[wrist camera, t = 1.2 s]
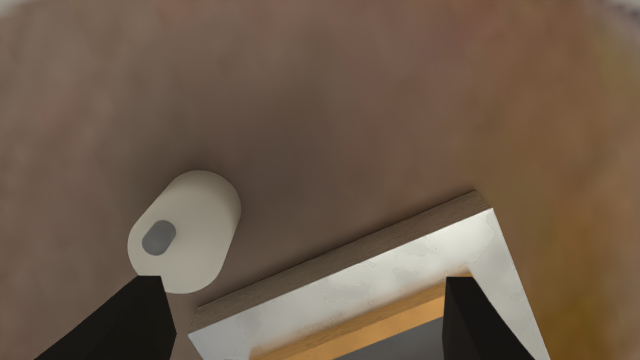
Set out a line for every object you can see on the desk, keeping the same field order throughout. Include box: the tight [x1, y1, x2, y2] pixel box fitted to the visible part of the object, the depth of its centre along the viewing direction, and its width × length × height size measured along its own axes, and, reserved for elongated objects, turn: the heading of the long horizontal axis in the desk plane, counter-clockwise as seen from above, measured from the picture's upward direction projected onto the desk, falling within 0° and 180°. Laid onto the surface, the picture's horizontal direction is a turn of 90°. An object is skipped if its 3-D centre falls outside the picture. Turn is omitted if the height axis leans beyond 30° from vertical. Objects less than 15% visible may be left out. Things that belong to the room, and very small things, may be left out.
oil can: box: [127, 170, 241, 294], centre depth 23 cm, size 4×4×6 cm
